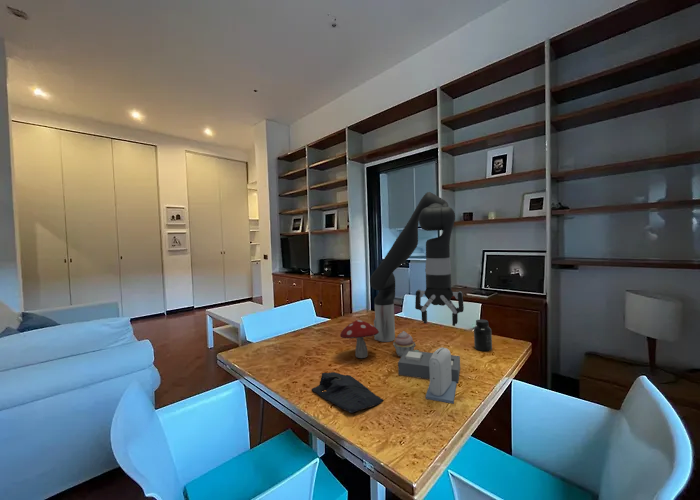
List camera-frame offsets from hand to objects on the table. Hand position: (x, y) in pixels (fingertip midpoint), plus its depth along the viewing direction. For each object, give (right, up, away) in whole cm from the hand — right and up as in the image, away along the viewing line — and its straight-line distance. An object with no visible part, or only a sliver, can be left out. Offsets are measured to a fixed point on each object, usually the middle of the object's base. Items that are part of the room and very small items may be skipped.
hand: (439, 324), depth 91 cm
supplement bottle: (+29, -19, +33) cm, 48 cm away
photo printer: (+1, -21, +1) cm, 21 cm away
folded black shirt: (-29, -23, +1) cm, 37 cm away
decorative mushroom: (-24, -21, +31) cm, 44 cm away
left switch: (-4, -18, +17) cm, 25 cm away
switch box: (+1, -21, +15) cm, 25 cm away
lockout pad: (+1, -21, +1) cm, 21 cm away
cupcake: (-5, -21, +30) cm, 37 cm away
